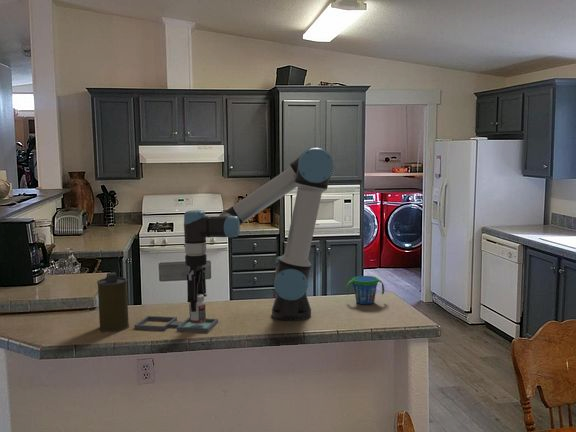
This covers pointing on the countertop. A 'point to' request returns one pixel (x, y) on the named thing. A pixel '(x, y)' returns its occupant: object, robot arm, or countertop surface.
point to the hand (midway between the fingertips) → (197, 317)
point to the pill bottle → (201, 310)
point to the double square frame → (177, 324)
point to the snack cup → (365, 288)
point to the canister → (113, 303)
